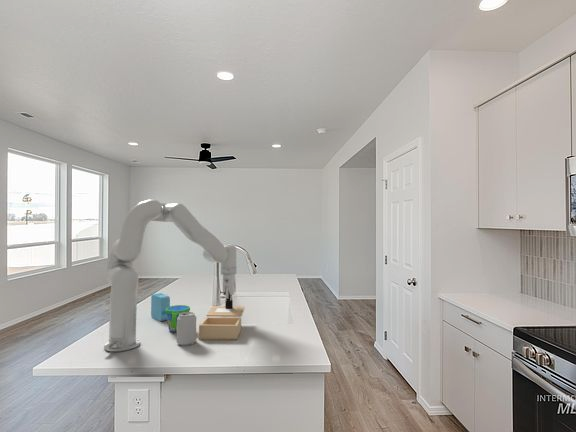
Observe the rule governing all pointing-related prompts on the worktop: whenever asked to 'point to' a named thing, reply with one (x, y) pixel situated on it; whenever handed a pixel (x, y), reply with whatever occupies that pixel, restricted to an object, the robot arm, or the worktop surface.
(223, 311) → the lid
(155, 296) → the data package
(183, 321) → the can
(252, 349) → the worktop surface
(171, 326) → the snack cup
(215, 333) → the box
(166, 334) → the worktop surface
